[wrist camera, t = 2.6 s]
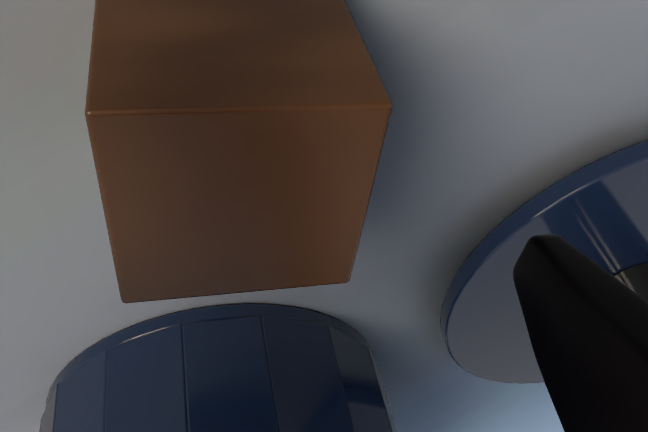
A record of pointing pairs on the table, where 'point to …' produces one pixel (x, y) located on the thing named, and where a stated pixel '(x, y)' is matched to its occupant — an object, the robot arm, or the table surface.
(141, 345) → the pot
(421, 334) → the table surface
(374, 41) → the table surface
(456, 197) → the table surface
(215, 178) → the block
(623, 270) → the lid
